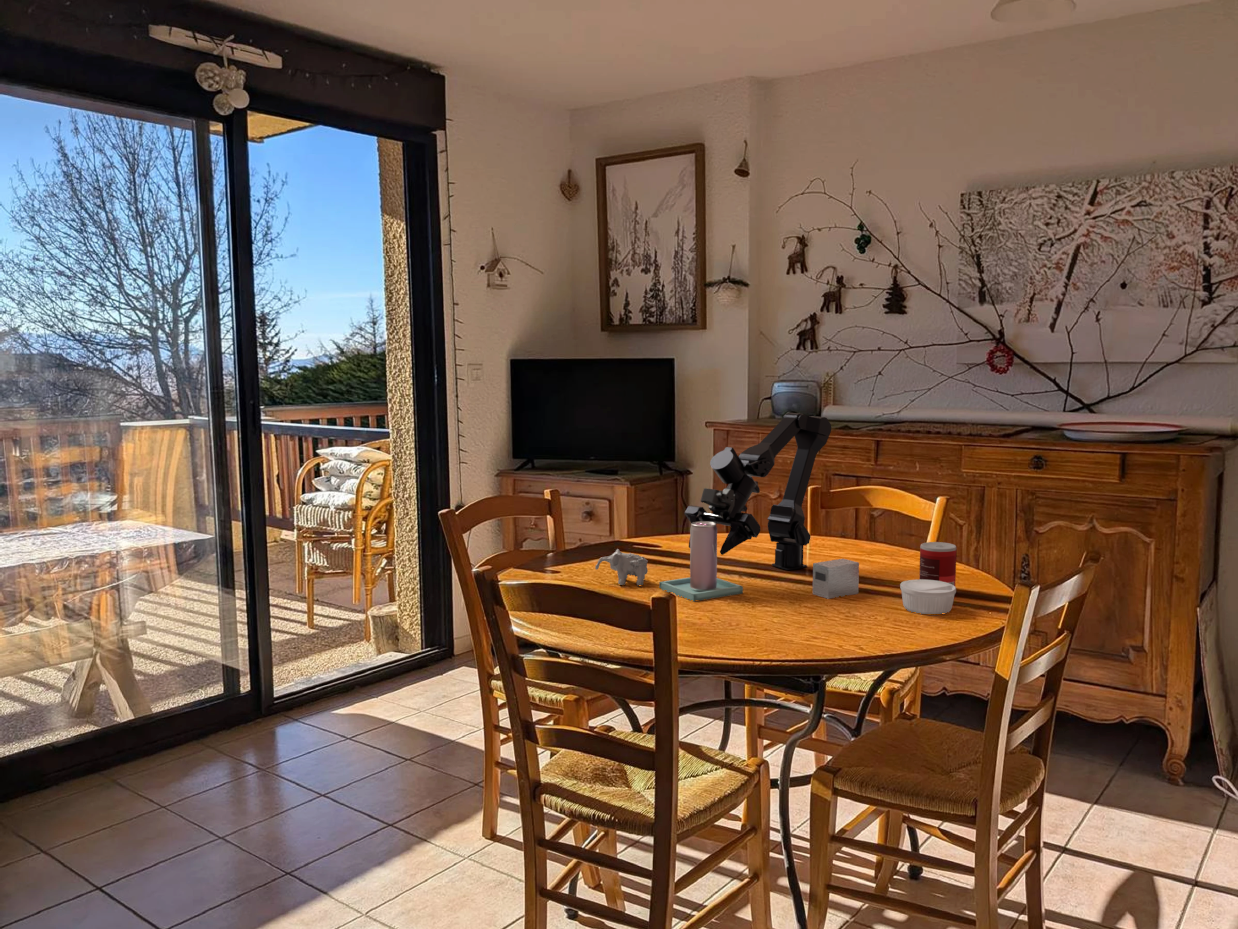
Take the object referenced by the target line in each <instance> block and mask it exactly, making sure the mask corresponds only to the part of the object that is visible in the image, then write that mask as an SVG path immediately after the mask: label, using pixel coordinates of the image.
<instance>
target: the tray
mask: <svg viewBox="0 0 1238 929" xmlns="http://www.w3.org/2000/svg"><path fill="white" fill-rule="evenodd" d="M658 582H659V585H658V586H659V588H661V589H662V590H661V589H660V590H661V591H664V590H667V591H666V592H667V593H669V592H673V593H675V594H676V595H675V594H674V595H675V596H677V597H680V598H683V597H684V598H683V599H685V598H687V599H686V600H688V599H690V600H689V601H691V600H693V601H694V602H696V601H695V600H700V601H705V600H704V599H706V600H711V598H712V599H719V598H723V597H730V596H737V595H741V594H744V586H743V585H741V584H736V583H734V582H731V581H729V580H725V579H722V578H718V577H717V587H716V589H715V590H711V591H705V592H698V591H694V590H692V589H691V587H690V576H689V577H683V578H676V579H671V580H669V579H668V580H665V581H664V580H663V581H658ZM678 595H679V596H678ZM681 596H682V597H681ZM693 601H692V602H693Z"/></svg>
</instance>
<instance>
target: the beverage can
mask: <svg viewBox="0 0 1238 929" xmlns="http://www.w3.org/2000/svg"><path fill="white" fill-rule="evenodd" d="M689 528H690V529H689V530H690V534H689V540H690V548H689V550H690V553H689V554H690V555H689V557H690V559H689V560H690V563H689V572H690V573H689V577H690V587H691V589H692V590H694V591H698V592H705V591H711V590H715V589H716V587H717V578H718V527H717V524H716V523H714V522H693V523H691V522H690V527H689Z"/></svg>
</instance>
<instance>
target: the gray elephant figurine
mask: <svg viewBox="0 0 1238 929" xmlns="http://www.w3.org/2000/svg"><path fill="white" fill-rule="evenodd" d="M648 561H649V560H647V558H645V556H641V555H639V554H635V553H631V552H629V553H627V552H626V553H625V552H622V551H620V549H619V548H616V549H615V551H614V552H613V553H612V554H611V555H608V556H602V557H600V558H599V559H598V560H597V563H596V564H595V570H599V568H600V564H601V563H602V562H607V563H608V564H610V566H609V567H610V569H611V570H613V571H616V572H617V577H618V581H617V583H618V585H619V584H620V585H624V586H625V585H626V583H627V580H628V575H629V576H634V577H637V578H636V585H637V586H638V585H644V580H645V576H646V575H647V574H648V571H649V570H648ZM620 585H619V586H620Z"/></svg>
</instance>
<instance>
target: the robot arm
mask: <svg viewBox="0 0 1238 929" xmlns="http://www.w3.org/2000/svg"><path fill="white" fill-rule="evenodd" d="M831 433H832V423H831V422H830V421H829V419H828V418H827V417H825V416H809V415H806V414H804V413H798V412H787V413H785V414H784V415H783V416H782V419H781V420H780V421H779V422H778V423H777V424H776V426H775V427H773V429H771V431H770V432H769V433H768V434H767V435H766V436H765V437H764V438H763V439H762V440H761V441H760V442H759V443H758V444H755V445H752V446H748V447H747V448H746V449H745V450H743V451H741V453H739V455H738V454H737V452H736V450H735V449H734V447H730V446H726V447H725V448H724V449H723V450H721V451H719V452H717V453H715V455H714V456H712V457H711V459H710V461H709V462H710V463H709V464H710V467H711V469H712V470H713V472H715V474H716V475H717V477H718V478H719V479H720V481H721V482H722V483H723V484H725V485H727V486H726V488H723V490H718V489H713V488H706V487H704V488H703V490H702V494H701V498H700V503H704V504H706V505H709V506H708V510H709V511H710V512H712V513H708V512H707V510H706V509H705V508H704V507H703V506H697V505H688V506H687V508H686V510H685V511H684V513H683V514H684V515H685V517H686V518H687V520H688V521H689V522H690V524H691V523H693V522H714V523H716V525H717V524H718V525H722V526H728V527H729V531H728V534H727V536H726V538H725V540H724V541H723V544H722V545H721V548H720V550H719V553H720V555H721V556H722V555H725V554H727V553H728V552H729V551H731V550H733V549H734V548H735V547H737V546H739V545H740V544H742V543H744V542H746V541H747V540H752V538H757V537H758V536H759V534H760V533H761V525H760V524H759V522H758V521H757V519H756V518H755V516H753V513H746V512H747V510H748V507H747V506H746V504H747V502H748V501H749V498H750V497H751V495H752V494H753V493H755V494H760V491H761V490H760V487H759V482H758V481H757V480H754V478H753V477H756V478H757V477H758V478H765V477H767V476H768V475H769V474H770V472H771V471H772V469H773V468H774V466H775V462H776V461H775V458H776V457H777V455H778V454H779V453H780V452H781V451H782V450H783V449H784V448H785V447H786V445H788V443H789V442H791V440H792V439H793V438H794V439H795V443H796V446H797V449H796V451H795V455H794V458H793V463H792V466H791V469H790V472H789V476H788V480H787V483H786V486H785V490H784V493H783V496H782V499H781V501H780V502H779V503H778V504H772V506H771V508H770V512H769V516H768V517H767V520H768V521H767V531H768V535H769V540H770V542H772V543H773V542H774V543H776V544H775V546H776V548H775V549H774V563H771V566H772V567H776V568H779V569H782V570H786V571H791V570H793V571H794V570H798V569H799V570H800V569H806V568H808V565H807V564H804V546H808V544H810V540H811V534H810V532H809V531H808V529H807V528H806V527H805V521H806V520H805V518H806V517H805V514H804V510H803V502H804V499H805V496H806V493H807V489H808V485H809V482H810V478H811V475H812V471H813V468H814V465H815V461H816V456H817V453H818V452H820V450H822V448H824V447H825V445H827V442H828V440H829V437H830V435H831ZM688 548H689V549H690V539H689V542H688Z"/></svg>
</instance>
